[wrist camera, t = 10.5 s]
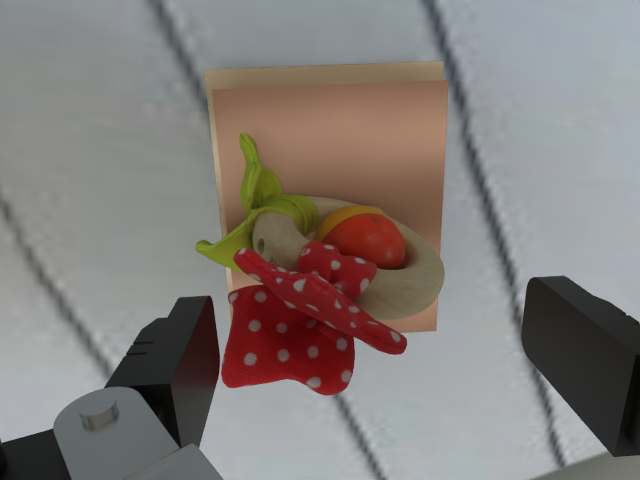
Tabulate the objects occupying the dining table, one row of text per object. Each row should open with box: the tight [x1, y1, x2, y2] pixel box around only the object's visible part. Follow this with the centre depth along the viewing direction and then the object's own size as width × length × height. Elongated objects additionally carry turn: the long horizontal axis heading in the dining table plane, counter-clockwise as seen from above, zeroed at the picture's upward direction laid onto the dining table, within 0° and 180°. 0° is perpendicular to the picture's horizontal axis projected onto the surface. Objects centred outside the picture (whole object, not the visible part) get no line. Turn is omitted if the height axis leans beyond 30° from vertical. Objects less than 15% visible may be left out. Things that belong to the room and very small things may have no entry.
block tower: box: [204, 61, 449, 333], centre depth 24 cm, size 14×12×8 cm
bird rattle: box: [196, 132, 445, 395], centre depth 16 cm, size 6×11×9 cm
